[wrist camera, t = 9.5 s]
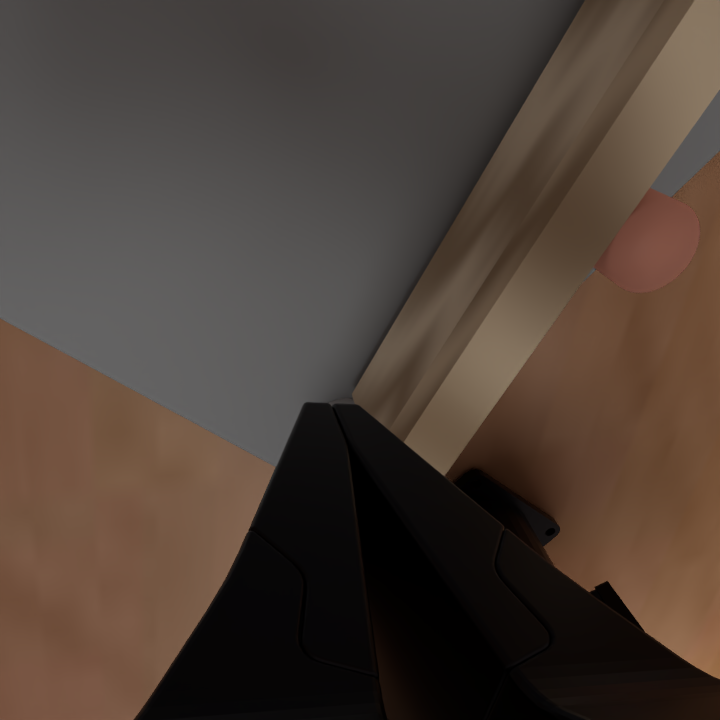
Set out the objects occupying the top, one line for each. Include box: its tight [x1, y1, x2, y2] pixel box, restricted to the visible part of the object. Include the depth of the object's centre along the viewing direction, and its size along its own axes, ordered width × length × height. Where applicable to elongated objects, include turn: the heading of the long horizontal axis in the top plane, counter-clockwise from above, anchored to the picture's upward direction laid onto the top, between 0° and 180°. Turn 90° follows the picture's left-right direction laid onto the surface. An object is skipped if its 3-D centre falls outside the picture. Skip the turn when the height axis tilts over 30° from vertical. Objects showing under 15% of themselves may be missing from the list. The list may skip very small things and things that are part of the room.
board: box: [0, 0, 720, 467], centre depth 15 cm, size 24×22×6 cm
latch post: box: [594, 188, 700, 293], centre depth 17 cm, size 2×2×6 cm
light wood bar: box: [352, 0, 720, 476], centre depth 17 cm, size 16×2×5 cm, turn 152°
